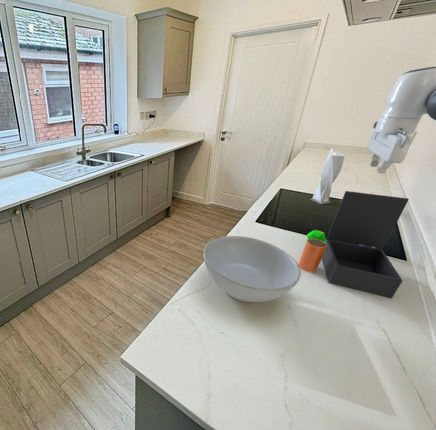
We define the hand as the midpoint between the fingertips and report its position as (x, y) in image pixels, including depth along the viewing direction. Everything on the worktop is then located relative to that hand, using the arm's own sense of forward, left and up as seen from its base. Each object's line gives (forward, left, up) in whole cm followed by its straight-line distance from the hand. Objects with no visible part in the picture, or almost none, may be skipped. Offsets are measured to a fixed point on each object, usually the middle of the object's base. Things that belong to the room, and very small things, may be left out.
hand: (376, 169), depth 88 cm
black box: (0, +17, -33) cm, 37 cm away
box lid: (0, +8, -16) cm, 18 cm away
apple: (+8, -2, -33) cm, 34 cm away
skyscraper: (0, -53, -33) cm, 63 cm away
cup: (+13, +19, -33) cm, 40 cm away
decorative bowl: (+33, +40, -33) cm, 62 cm away
